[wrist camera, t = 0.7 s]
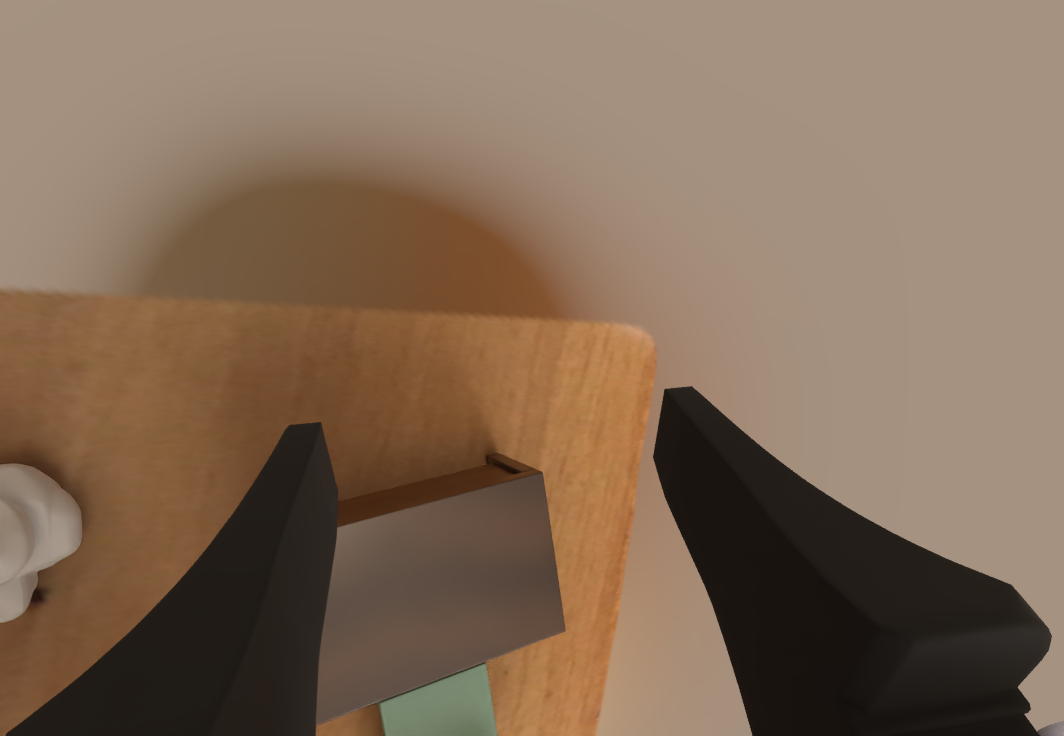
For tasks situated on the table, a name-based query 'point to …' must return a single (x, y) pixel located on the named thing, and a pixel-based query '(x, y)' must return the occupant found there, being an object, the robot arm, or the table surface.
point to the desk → (436, 583)
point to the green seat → (443, 707)
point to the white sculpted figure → (32, 532)
